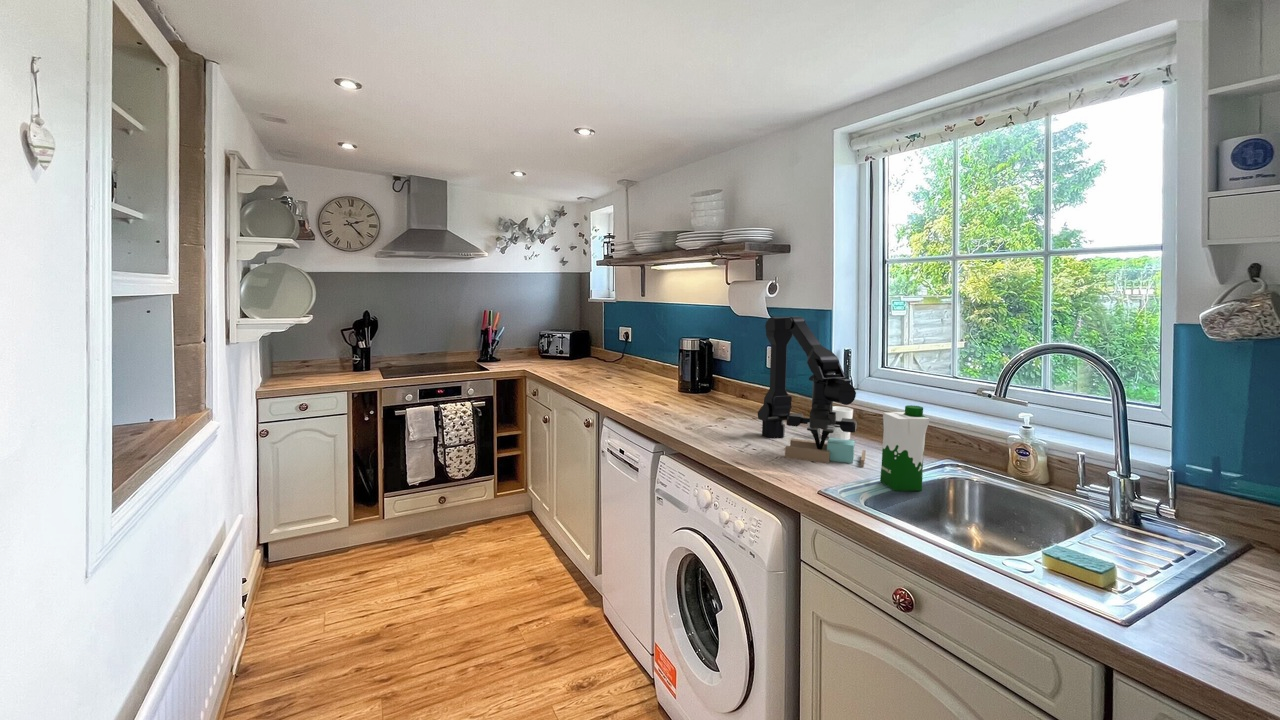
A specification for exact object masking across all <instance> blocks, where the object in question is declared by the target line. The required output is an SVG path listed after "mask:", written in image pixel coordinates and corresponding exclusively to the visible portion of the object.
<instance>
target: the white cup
mask: <svg viewBox="0 0 1280 720" xmlns="http://www.w3.org/2000/svg"><path fill="white" fill-rule="evenodd" d="M832 412H836V421H841V420H842V418H848V419H853V415H854V408H851V407H847V406H838V405H837V406H834V405H833V411H832ZM827 438H828V439H829V438H835V439H844V440H851V432H843V431H842V430H841V429H840V428H839V427H835V430H834V432H833V433H829V435H828V436H827Z"/></svg>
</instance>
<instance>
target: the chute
mask: <svg viewBox="0 0 1280 720" xmlns="http://www.w3.org/2000/svg"><path fill="white" fill-rule="evenodd" d="M789 441H790V443H789V444H790V445H786V446H785V448H784V449H785V450H784V458H787V459H794V460H800V461H801V460H803V461H809V462H810V461H811V462H819V463H826V464H827V463H828V464H830V462H831V461H830V451H827V442H825V443H824V445H823V448H822V450H819V449H817V446H816V443H815V440H806V439H798V438H797V439H796V438H791V439H790V440H789ZM865 462H866V450H864V449H863V450H862V452H861V457H860V467H861V468H864V467H865Z"/></svg>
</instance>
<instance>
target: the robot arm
mask: <svg viewBox="0 0 1280 720" xmlns="http://www.w3.org/2000/svg"><path fill="white" fill-rule="evenodd" d="M764 327H765V336H766V338H767V340H768V342H769V344H770V361H769V362H770V364H769V365H770V367H769V368H770V369H769V370H770V371H769V389H768V391H767V392H766V394H765V395H764V398H763V404H762V406H761V407H760V409H759V410H758V411H757V418H758V420H760V421H762V422H761V423H762V425H761V428H762V430H761V437H764V438H767V439H768V438H769V439H783V438H785V433H786V432H785V430H786V426H789V427H796V428H797V427H799V426H800V425H807V428H806V430H807V431H809V432H810V433H811V434H812V437H813V439H814V441H815V443H816V446H817V449H819V450H822V448H823V445H824V443H826V440H827V438H828V435H829V433H833V432H834V430H835V427H839V428H840V429H841V430H842V431H843V432H850V433H852V434H853V433H856V431H857V424H858V423H857V420H856V419H855V418H852V419H848V418H842V420H841V421H836V412H832V411H833V406H834V403H837V404H839V405H840V404H841V405H845V406H848V405H850V404H852V403H853V402H854V401H855V399H856V396H857V392H856V389H855V387H854V386H853V385H852V384H851V379H848V378H846V375H845V372H844V370H843V368H842V366H841V363H840V360H839V358H838V356H837V355H836V353H834V352H833V351H832V350H830V349H829V348H826V347H824V346H823V345H822V344H821V343H820V341H819V339H818V338H817V337H816V335H814V333H813V332H812V330H811V328H809V326H808V325H807V323H806V320H805V318H804V317H802V316H770V317H769V318H768V319H767V320H766V322H765V326H764ZM793 337H794V338H795V340H796V341H797V343H798V345H799V346H800V347H801V348H802V350H803V351H804V353H805V354H806V356H807V358H806V359H807V360H806V364H807V365H808V368H809V370H810V372H811V373H812V375H811V376H809V377H808V381H809V382H810V381H811V382H812V393H811V394H812V395H811V397H812V398H811V409H810V410H809V411H810V412H809V417H806V416H805V417H804V414H803V413H798V412H797V413H795V412H794V413H793V412H791V410H792V409H793V407H792V399H793V398H792V397H793V396H792V395H789V394H788V391H787V390H786V383H787V382H786V381H787V380H786V379H787V358H788V357H787V354H788V353H787V350H788V344H789V342H790V341H791V339H792V338H793ZM784 421H786V424H784ZM821 430H822V431H821Z"/></svg>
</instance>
